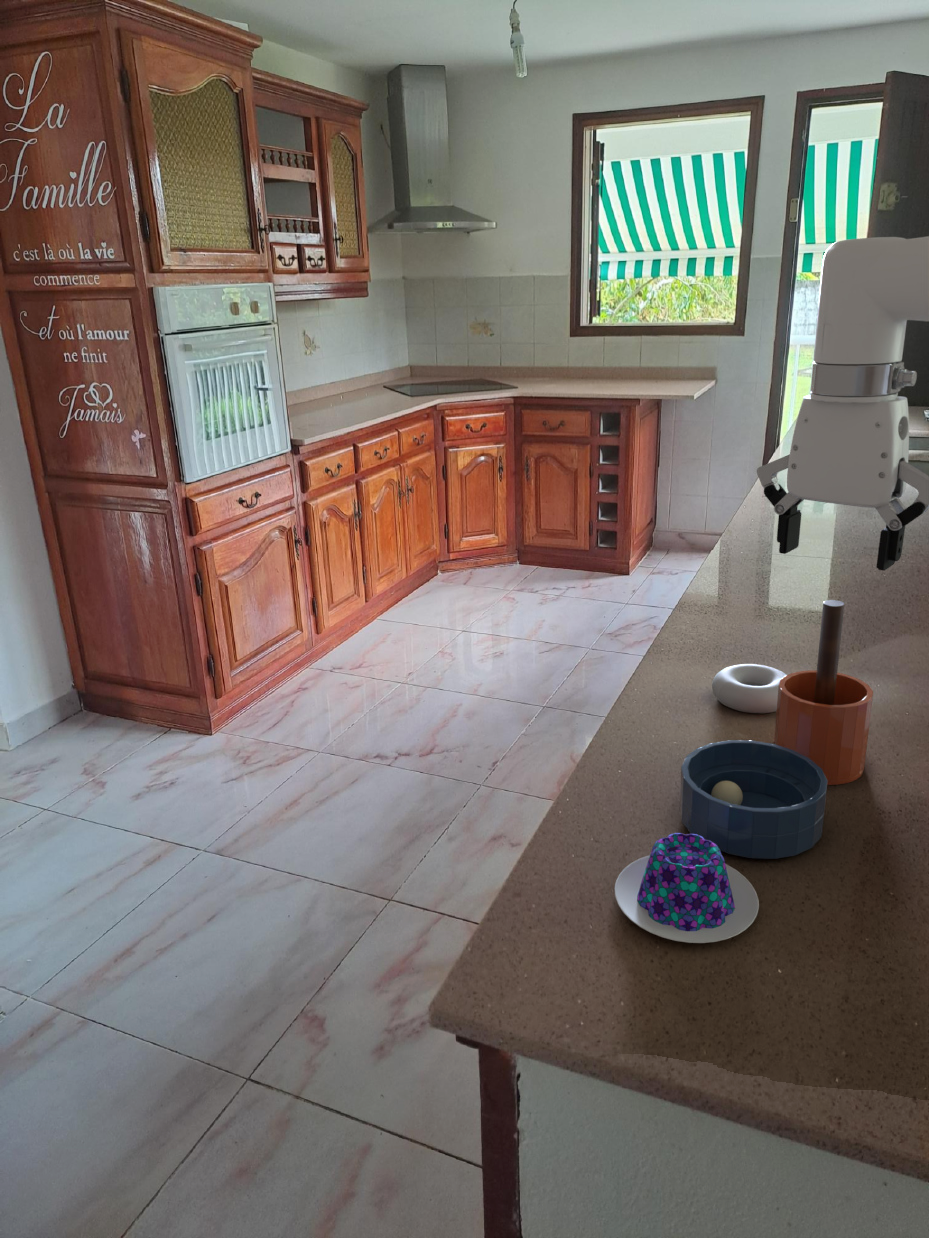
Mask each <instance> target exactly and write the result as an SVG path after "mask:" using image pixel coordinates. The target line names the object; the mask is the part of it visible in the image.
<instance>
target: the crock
mask: <svg viewBox="0 0 929 1238" xmlns="http://www.w3.org/2000/svg"><path fill="white" fill-rule="evenodd" d="M816 673H817V669H808V670H807V669H806V670H800V671H794V672H792V673H788V674H786V676H784V677H783V678H782V679H781V680H780V682H779V686H778V699H777V711H775V712H776V713H775V726H774V738H773V744H776V745H779V746H782V747H785V748H788V749H792V750H794V751H796V752H798V753H800V754H802V755H804V756H806V757H808V758H810V759H811V760H812V761H813V762H814V763H816V764H817V765H818V766H819V767H820V768H821V769H822V770H823V772H824V774H825V776H826V778H827V780H828V784H827V786H834V785H835V786H837V785H844V784H849V783H852V782H854V781H856V780H859V778H861V777H862V775H863V774H864V771H865V764H866V757H867V748H868V739H869V732H870V726H871V725H870V724H871V715H872V707H873V700H874V690H873V689H872V688H871V686H870V685H869V684H868V683H866V682H865V681H863V680H861V679H860V678H858V677H855V676H852V675H849V674H845V673H842V672H839V671H837V680H836V689H835V699H834V705H826V704H819V703H814V694H815V683H816Z"/></svg>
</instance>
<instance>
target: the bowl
mask: <svg viewBox="0 0 929 1238" xmlns="http://www.w3.org/2000/svg"><path fill="white" fill-rule="evenodd" d="M721 781H731V782H734V783H735V784H737V785H738V786H739V787H740V789H741V791H742V794H743V800H742V803H741V805H735V804H731V803H728V802H725V801H723V800H720V799H717V798H714V797H712V796H711V792H712V789H713V787H714V786H715V785H716V784H717V783H719V782H721ZM827 784H828V780H827V778H826V776H825V774H824V772H823V770H822V769H821V768H820V767H819V766H818V765H817V764H816V763H814V762H813V761H812V760H811V759H810V758H808V757H806V756H804V755H802V754H800V753H798V752H796V751H794V750H792V749H788V748H785V747H782V746H779V745H776V744H774V743H771V742H765V741H757V740H751V739H748V740H747V739H745V740H742V739H741V740H740V739H737V740H736V739H732V740H731V739H729V740H723V741H716V742H711V743H708V744H705V745H703V746H700V747H697V748H695V749H694V750H693V751H691V752H689V754H687V755H686V756H685V757H684V760H683V762H682V764H681V767H680V787H679V789H680V792H679V814H680V819H681V823H682V824H683V825H684V827H685V828H686V829H687V831H688V832H689V834H697V835H700V836H702V837H703V838H704V839H705V840H709V841H712V842H713V843H715V844H716V845H717V846H718V848H719V849H720V851H721V852H723V853H726V854H728V855H734V856H738V857H741V858H742V857H743V858H747V859H767V860H775V859H776V860H777V859H782V858H789V857H794V856H798V855H800V854H802V853H804V852H806V851H808V850H811V849H812V848H813V847H814V846H815V845H816V844H817V843H818V842H819V840H820V839H822V835H823V828H824V822H825V821H824V819H825V810H826V803H827V802H826V801H827V792H828V785H827Z"/></svg>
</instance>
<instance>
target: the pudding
mask: <svg viewBox="0 0 929 1238" xmlns="http://www.w3.org/2000/svg"><path fill="white" fill-rule="evenodd" d="M614 897H615V899H616V902H617V906H618V907H619V908H620V910H621V911H622V913H623V914H624V915H625V916H626V917H627V918H628V919H629V920H630V921H631V922H632V923H634V924H635V925H637V926H638V927H639V928H641V929H643V930H645V931H646V932H649V933H650V934H653V935H656V936H658V937H661V938H664V939H667V940H670V941H671V940H672V941H675V942H682V943H687V944H692V943H693V944H706V943H715V942H716V943H717V942H720V941H725V940H728V939H731V938H733V937H735V936H738V935H739V934H741V933H743V932H744V931H746V930H747V929H748V928H749V927H750V926H751V925H752V924H753V923H754V921H755V920H756V918H757V916H758V913H759V908H760V903H759V897H758V894H757V891H756V889H755V887H754V886H753V884H752V883H751V882H750V881H749V879H748V878H746V876H745V875H743V874H742V873H740V872H739V871H738V870H737V869H736V868H734V867H732V866H730V865H729V864H727V863H726V861H725V858H724V856H723V855H722V851H720V849H719V848H718V846H717V845H716V844H715V843H713V842H712V841H709V840H705V839H704V838H703V837H702V836H700V835H697V834H691V833H686V834H685V833H682V832H674V833H671V834H669V835H667V837H661V838H659V839H658V840H656V841H655V843H654V844H653V846H652V848H651V850H650V854H649V855H646V856H643V857H641V858H638V859H636V860H634V861H633V862H631V863H629V864H628V865H626V867H624V868H623V869H622V871H621V872H620V873H619V874H618V876H617V879H616V880H615V884H614Z"/></svg>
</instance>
